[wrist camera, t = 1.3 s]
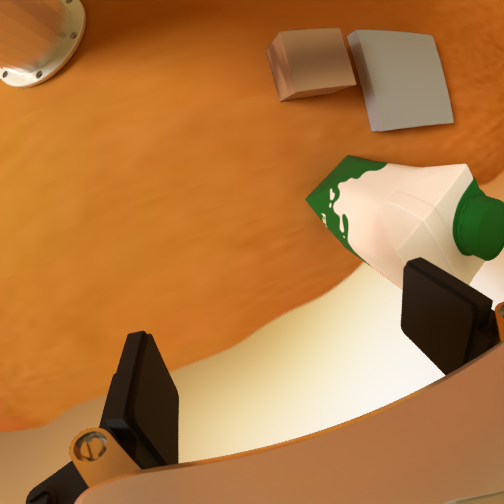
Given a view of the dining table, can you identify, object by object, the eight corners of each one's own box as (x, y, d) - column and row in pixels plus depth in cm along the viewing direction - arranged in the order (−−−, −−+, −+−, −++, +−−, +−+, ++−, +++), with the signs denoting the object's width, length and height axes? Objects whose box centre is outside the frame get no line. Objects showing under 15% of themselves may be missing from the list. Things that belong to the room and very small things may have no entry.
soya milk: (390, 198, 35) (522, 248, 16) (341, 251, 36) (453, 343, 17) (347, 143, 32) (490, 152, 13) (292, 200, 33) (402, 267, 14)
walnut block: (265, 50, 27) (279, 31, 22) (317, 45, 28) (339, 27, 22) (279, 101, 29) (296, 91, 24) (331, 93, 30) (356, 84, 24)
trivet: (346, 35, 27) (356, 29, 25) (421, 39, 28) (432, 35, 26) (371, 131, 32) (382, 131, 29) (441, 122, 32) (453, 122, 30)
